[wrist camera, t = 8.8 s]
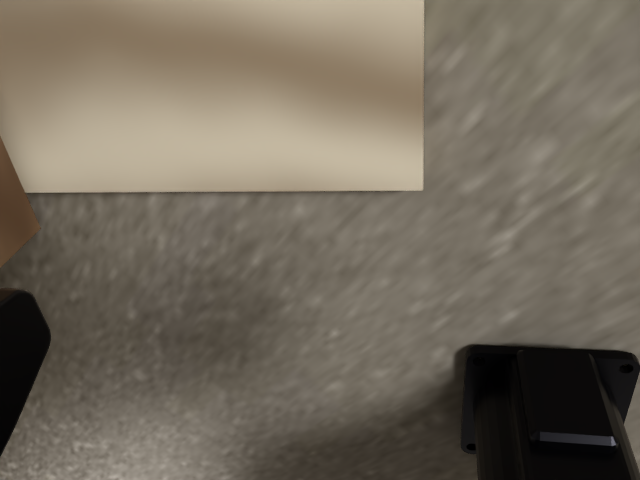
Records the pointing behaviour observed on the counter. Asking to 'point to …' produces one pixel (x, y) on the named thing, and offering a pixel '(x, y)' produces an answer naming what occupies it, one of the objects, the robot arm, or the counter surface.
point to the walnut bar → (13, 210)
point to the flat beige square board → (213, 95)
